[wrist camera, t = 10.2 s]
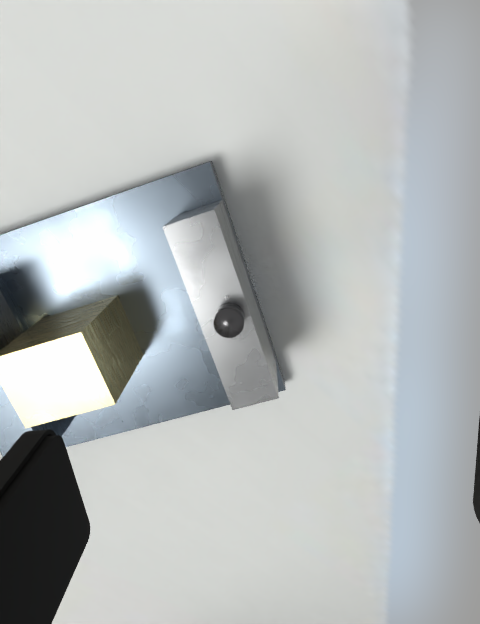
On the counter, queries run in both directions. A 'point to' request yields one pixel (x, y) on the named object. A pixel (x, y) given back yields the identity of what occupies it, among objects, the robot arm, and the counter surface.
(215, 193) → the vise
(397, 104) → the counter surface
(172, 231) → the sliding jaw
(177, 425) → the counter surface
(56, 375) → the brass block
